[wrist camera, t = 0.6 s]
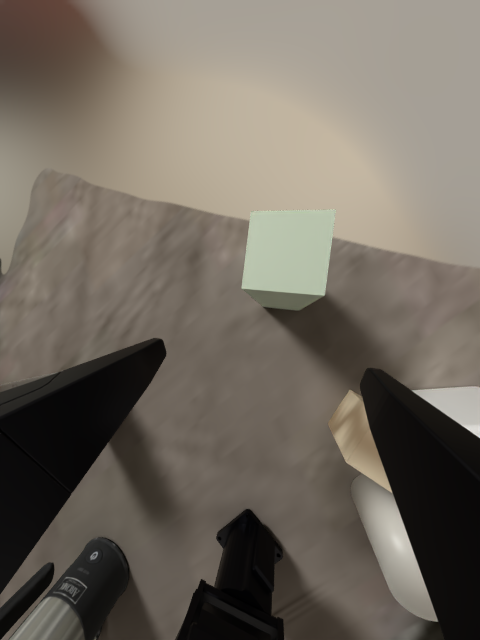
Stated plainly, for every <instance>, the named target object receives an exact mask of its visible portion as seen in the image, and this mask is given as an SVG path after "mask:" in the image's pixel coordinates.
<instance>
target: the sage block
mask: <svg viewBox="0 0 480 640" xmlns="http://www.w3.org/2000/svg"><path fill="white" fill-rule="evenodd" d="M335 212H336V210H291V211H252V212H251V216H250V224H249V232H248V240H247V249H246V257H245V265H244V273H243V281H242V289H243V290H244V291H245V292H246V293H247V294H248V295H250V296H251V297H252V298H253V299H254V300H255V301H257V302H258V303H259V304H260V305H261V306H262V307H268V308H278V309H287V310H297V311H299V310H301V309H303V308H304V307H306V306H308V305H310V304H311V303H313V302H315V301H316V300H318V299H320V298H321V297H323V296H325V289H326V281H327V274H328V266H329V258H330V251H331V243H332V236H333V227H334V220H335Z"/></svg>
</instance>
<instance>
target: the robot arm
mask: <svg viewBox="0 0 480 640" xmlns="http://www.w3.org/2000/svg"><path fill="white" fill-rule="evenodd" d="M165 357H166V349H165V345H164V342H163V340H162V339H158V338H153V339H150V340H147V341H144V342H141V343H139V344H136V345H133V346H130V347H127V348H125V349H122V350H119V351H116V352H114V353H111V354H108V355H105V356H102V357H100V358H97V359H94V360H91V361H88V362H86V363H83V364H80V365H77V366H75V367H72V368H69V369H66V370H63V371H62V372H58V373H55V374H52V375H49V376H47V377H44V378H41V379H38V380H35V381H32V382H29V383H26V384H23V385H20V386H17V387H14V388H11V389H8V390H5V391H2V392H0V594H1V592H2V591H3V590H4V588H5V587H6V586H7V584H8V583H9V581H10V580H11V579H12V577H13V576H14V574H15V573H16V572H17V570H18V569H19V567H20V566H21V565H22V563H23V562H24V560H25V559H26V558H27V556H28V555H29V553H30V552H31V550H32V549H33V548H34V546H35V545H36V543H37V542H38V541H39V539H40V538H41V536H42V535H43V534H44V532H45V531H46V529H47V528H48V527H49V525H50V524H51V522H52V521H53V520H54V518H55V517H56V515H57V514H58V512H59V511H60V510H61V508H62V507H63V505H64V504H65V503H66V501H67V500H68V498H69V497H70V496H71V493H72V492H73V491H74V490H75V488H76V487H77V485H78V484H79V483H80V481H81V480H82V478H83V477H84V476H85V474H86V473H87V471H88V470H89V469H90V467H91V466H92V464H93V463H94V462H95V460H96V459H97V457H98V456H99V455H100V453H101V452H102V450H103V449H104V448H105V446H106V445H107V443H108V442H109V441H110V439H111V438H112V436H113V435H114V434H115V432H116V431H117V429H118V428H119V426H120V425H121V424H122V422H123V421H124V419H125V418H126V417H127V415H128V414H129V412H130V411H131V410H132V408H133V407H134V405H135V404H136V403H137V401H138V400H139V398H140V397H141V396H142V394H143V393H144V391H145V390H146V389H147V387H148V386H149V384H150V383H151V381H152V379H153V378H154V376H155V374H156V372H157V371H158V369H159V367H160V366H161V364H162V362H163V360H164V359H165ZM360 390H361V394H362V398H363V403H364V407H365V411H366V415H367V420H368V424H369V427H370V431H371V434H372V437H373V440H374V442H375V445H376V448H377V451H378V454H379V456H380V459H381V462H382V465H383V468H384V470H385V473H386V476H387V479H388V482H389V485H390V487H391V490H392V493H393V496H394V499H395V501H396V504H397V507H398V510H399V513H400V515H401V518H402V521H403V524H404V527H405V530H406V532H407V535H408V538H409V541H410V544H411V546H412V549H413V552H414V555H415V558H416V560H417V563H418V566H419V569H420V572H421V575H422V577H423V580H424V583H425V586H426V589H427V591H428V594H429V597H430V600H431V603H432V605H433V608H434V611H435V614H436V617H437V620H438V622H439V625H440V628H441V631H442V634H443V636H444V639H445V640H480V438H479V437H478V436H476V435H475V434H473V433H472V432H470V431H469V430H468V429H466V428H465V427H463V426H462V425H460V424H459V423H457V422H456V421H455V420H453V419H452V418H450V417H449V416H447V415H446V414H445V413H443V412H442V411H440V410H439V409H437V408H436V407H434V406H433V405H432V404H430V403H429V402H427V401H426V400H424V399H423V398H421V397H420V396H419V395H417V394H416V393H414V392H413V391H411V390H410V389H409V388H407V387H406V386H404V385H403V384H401V383H400V382H398V381H397V380H396V379H394V378H393V377H391V376H390V375H388V374H387V373H385V372H384V371H383V370H381V369H375V368H367V369H366V371H365V373H364V376H363V378H362V380H361V383H360ZM247 514H248V515H247ZM216 539H217V541H218V542H219V543H220V545H221V546H222V547H223V553H222V557H221V561H220V565H219V569H218V573H217V577H216V581H215V585H214V587H213V586H211V585H209V584H207V583H206V581H204V580H202V579H201V581H200V584H199V586H198V589H196V591H195V593H193V596H192V599H191V603H190V606H189V609H188V612H187V614H186V617H185V620H184V622H183V624H182V626H181V629H180V631H179V633H178V635H177V637H176V639H175V640H284V627H283V619H281V618H279V617H277V618H276V617H274V616H272V615H271V610H272V592H273V591H274V564H275V563H277V562H278V561H280V560H281V559H282V557H283V552H282V549H281V548H280V547H279V546H278V544H277V543H276V542H275V541H274V539H273V538H272V537H271V536H270V534H269V533H268V532H267V531H266V529H265V528H264V527H263V526H262V524H261V523H260V522H259V521H258V519H257V518H256V517H255V516H254V514H253V513H252V512H251V511H250V510H249V509H246V510H245V511H243V512H242V513H241V514H240V515H238V516H237V517H236V518H235V519H233V520H232V521H231V522H230V523H228V524H227V525H226V526H225V527H223V528H222V529H221V530H220V531H219V532H218V533H217V536H216Z"/></svg>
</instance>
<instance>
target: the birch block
mask: <svg viewBox="0 0 480 640" xmlns="http://www.w3.org/2000/svg"><path fill="white" fill-rule="evenodd" d="M328 425H329V427H330V429H331V431H332V434H333V436H334V438H335V440H336V442H337V444H338V446H339V448H340V451H341V453H342V455H343V457H344V459H345V461H346V463H348V464H349V465H351V466H352V467H354V468H355V469H357V470H358V471H360V472H361V473H363V474H364V475H366V476H367V477H369V478H370V479H372V480H373V481H375V482H376V483H378V484H379V485H381V486H382V487H384V488H385V489H387V490H388V491H390V492H391V493H392V490H391V487H390V485H389V482H388V479H387V476H386V473H385V470H384V468H383V465H382V462H381V459H380V456H379V454H378V451H377V448H376V445H375V442H374V440H373V437H372V434H371V431H370V427H369V424H368V420H367V415H366V411H365V407H364V403H363V398H362V396H360V395H359V394H357V393H355V392H353V391H352V390H349V392H348V393H347V395H346V396H345V398H344V399H343V401H342V402H341V404H340V405H339V407H338V409H337V410H336V412H335V413H334V415H333V416H332V418H331V419H330V421H329V422H328Z"/></svg>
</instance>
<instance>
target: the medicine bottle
mask: <svg viewBox="0 0 480 640" xmlns="http://www.w3.org/2000/svg"><path fill="white" fill-rule="evenodd" d="M411 391H413V392H414V393H416V394H417V395H419V396H420V397H421V398H423V399H424V400H426V401H427V402H429V403H430V404H432V405H433V406H434V407H436V408H437V409H439V410H440V411H442V412H443V413H445V414H446V415H447V416H449V417H450V418H452V419H453V420H455V421H456V422H457V423H459V424H460V425H462V426H463V427H465V428H466V429H468V430H469V431H470V432H472V433H473V434H475V435H476V436H478V437H479V438H480V387H476V386H469V387H454V388H438V389H423V390H411Z"/></svg>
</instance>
